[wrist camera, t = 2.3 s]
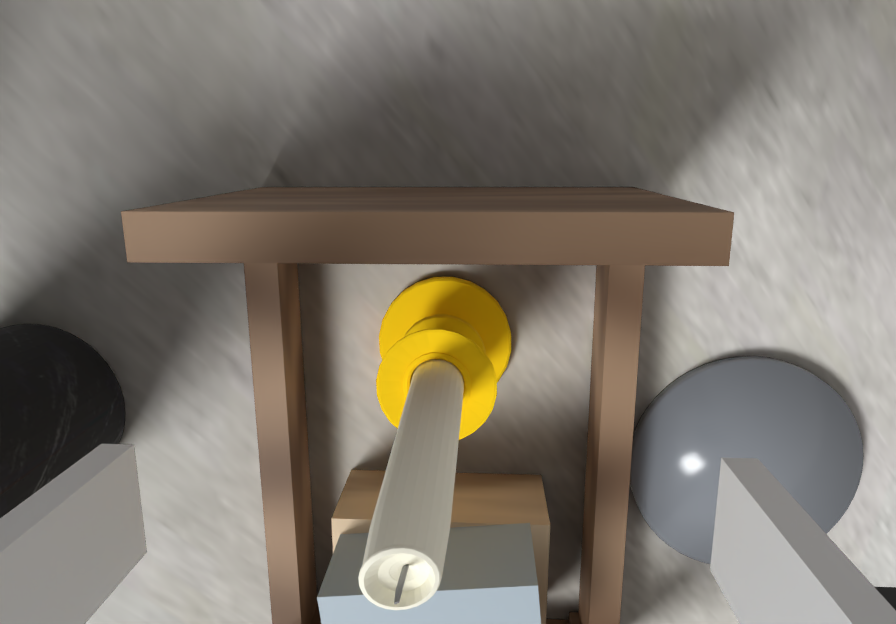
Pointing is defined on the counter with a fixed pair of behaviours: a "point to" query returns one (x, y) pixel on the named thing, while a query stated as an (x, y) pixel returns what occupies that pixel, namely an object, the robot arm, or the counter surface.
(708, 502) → the disc
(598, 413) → the frame
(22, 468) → the travel mug
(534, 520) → the offcut lower
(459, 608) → the offcut upper
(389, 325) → the candle
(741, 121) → the counter surface
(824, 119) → the counter surface
